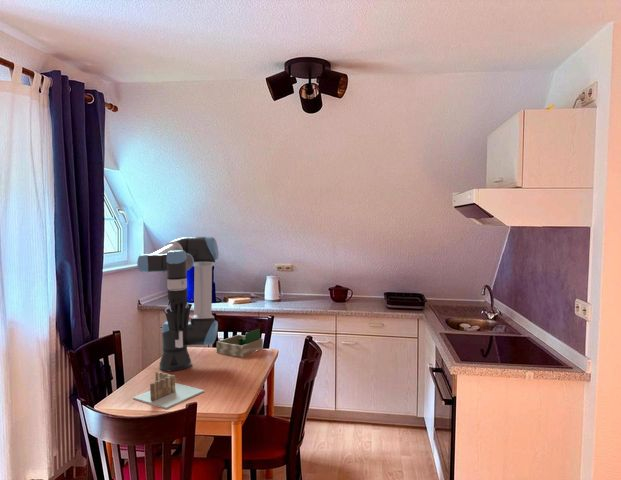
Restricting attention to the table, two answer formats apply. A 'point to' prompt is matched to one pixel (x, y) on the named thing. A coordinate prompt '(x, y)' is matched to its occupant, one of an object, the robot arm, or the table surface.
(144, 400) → the card
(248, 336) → the pixelated creature
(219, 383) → the table surface
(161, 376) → the fence fixed
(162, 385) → the fence gate
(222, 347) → the box
